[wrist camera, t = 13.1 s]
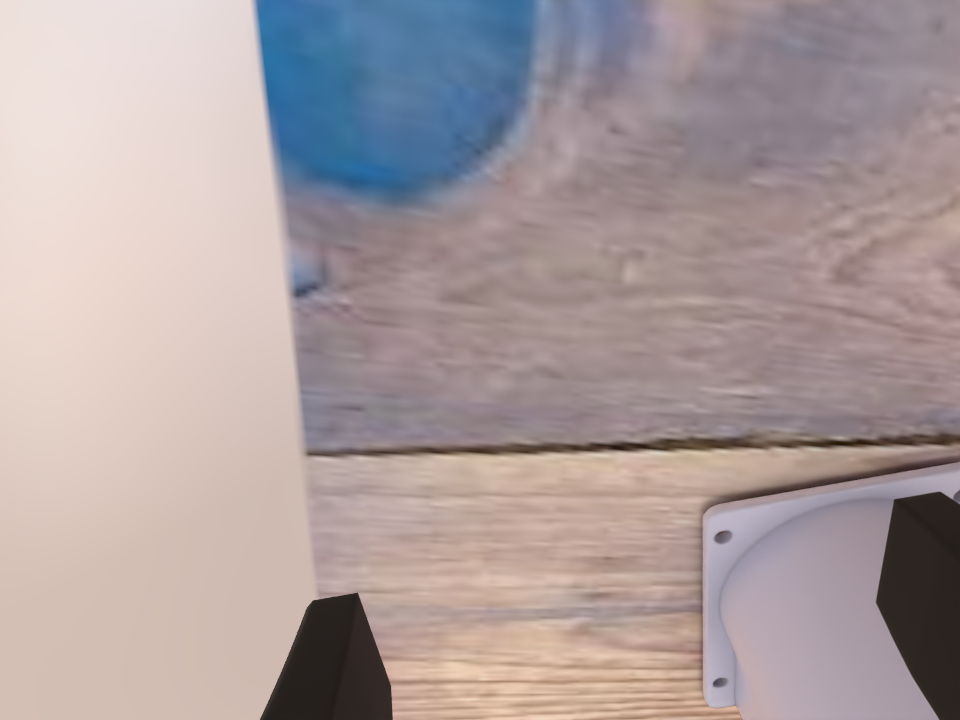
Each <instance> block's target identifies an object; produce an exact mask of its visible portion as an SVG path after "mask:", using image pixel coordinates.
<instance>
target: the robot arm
mask: <svg viewBox="0 0 960 720" xmlns="http://www.w3.org/2000/svg"><path fill="white" fill-rule="evenodd" d="M721 531H724V532H722V533H720V534H718V533H719V532H721ZM703 696H704V698H705V701H706V704H707V705H708V706H710V707H713V708H722V707H728V706H734V705H737V708H738V710H739V713H740V715H741V718H742V720H960V462H956V463H951V464H945V465H939V466H934V467H928V468H922V469H916V470H911V471H905V472H899V473H894V474H888V475H882V476H876V477H871V478H865V479H859V480H853V481H848V482H842V483H836V484H831V485H825V486H819V487H813V488H808V489H802V490H796V491H790V492H785V493H779V494H773V495H768V496H762V497H756V498H750V499H745V500H739V501H733V502H727V503H722V504H717V505H714V506H712V507H711V508H709V509H708V510H707V511H706V512H705V514H704V516H703ZM260 720H393V717H392V697H391V685H390V682H389V679H388V676H387V674H386V671H385V668H384V665H383V662H382V660H381V657H380V654H379V651H378V648H377V646H376V643H375V640H374V637H373V634H372V632H371V629H370V626H369V623H368V620H367V618H366V615H365V612H364V609H363V606H362V604H361V601H360V598H359V595H358V593H354V594H348V595H342V596H336V597H331V598H325V599H319V600H314V601H312V602H311V604H310V605H309V606H308V607H307V609H306V612H305V614H304V617H303V620H302V622H301V625H300V628H299V630H298V632H297V635H296V638H295V640H294V642H293V645H292V647H291V650H290V652H289V655H288V657H287V660H286V662H285V664H284V667H283V669H282V672H281V674H280V676H279V678H278V681H277V683H276V685H275V688H274V690H273V692H272V694H271V697H270V699H269V701H268V704H267V706H266V708H265V710H264V712H263V714H262V716H261V719H260Z"/></svg>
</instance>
